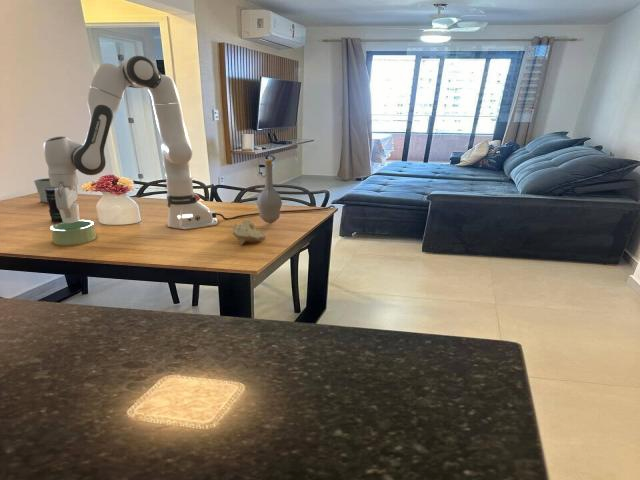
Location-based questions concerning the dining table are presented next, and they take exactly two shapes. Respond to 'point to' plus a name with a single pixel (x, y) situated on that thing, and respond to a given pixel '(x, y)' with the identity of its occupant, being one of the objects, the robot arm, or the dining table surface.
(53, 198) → the storage jar
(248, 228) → the grey beige rock
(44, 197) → the grey cup
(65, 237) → the green round shallow bowl
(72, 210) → the shot glass
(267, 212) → the bottle
